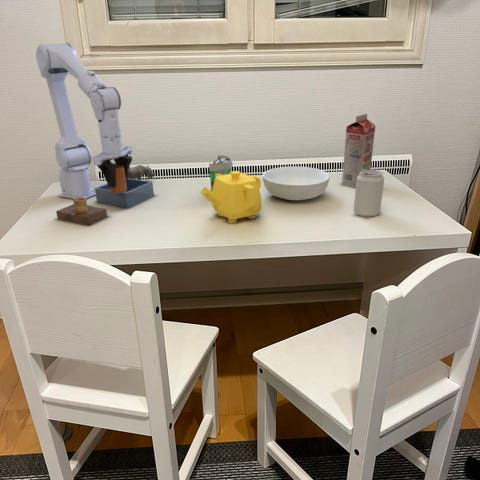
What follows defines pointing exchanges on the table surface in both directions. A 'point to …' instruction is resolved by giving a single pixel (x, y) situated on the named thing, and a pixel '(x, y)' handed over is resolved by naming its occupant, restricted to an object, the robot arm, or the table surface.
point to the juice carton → (357, 149)
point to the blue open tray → (125, 193)
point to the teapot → (235, 195)
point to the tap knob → (80, 205)
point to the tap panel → (82, 215)
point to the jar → (119, 180)
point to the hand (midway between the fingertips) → (117, 184)
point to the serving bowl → (295, 182)
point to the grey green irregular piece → (220, 168)
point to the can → (368, 193)
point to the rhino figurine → (140, 172)
